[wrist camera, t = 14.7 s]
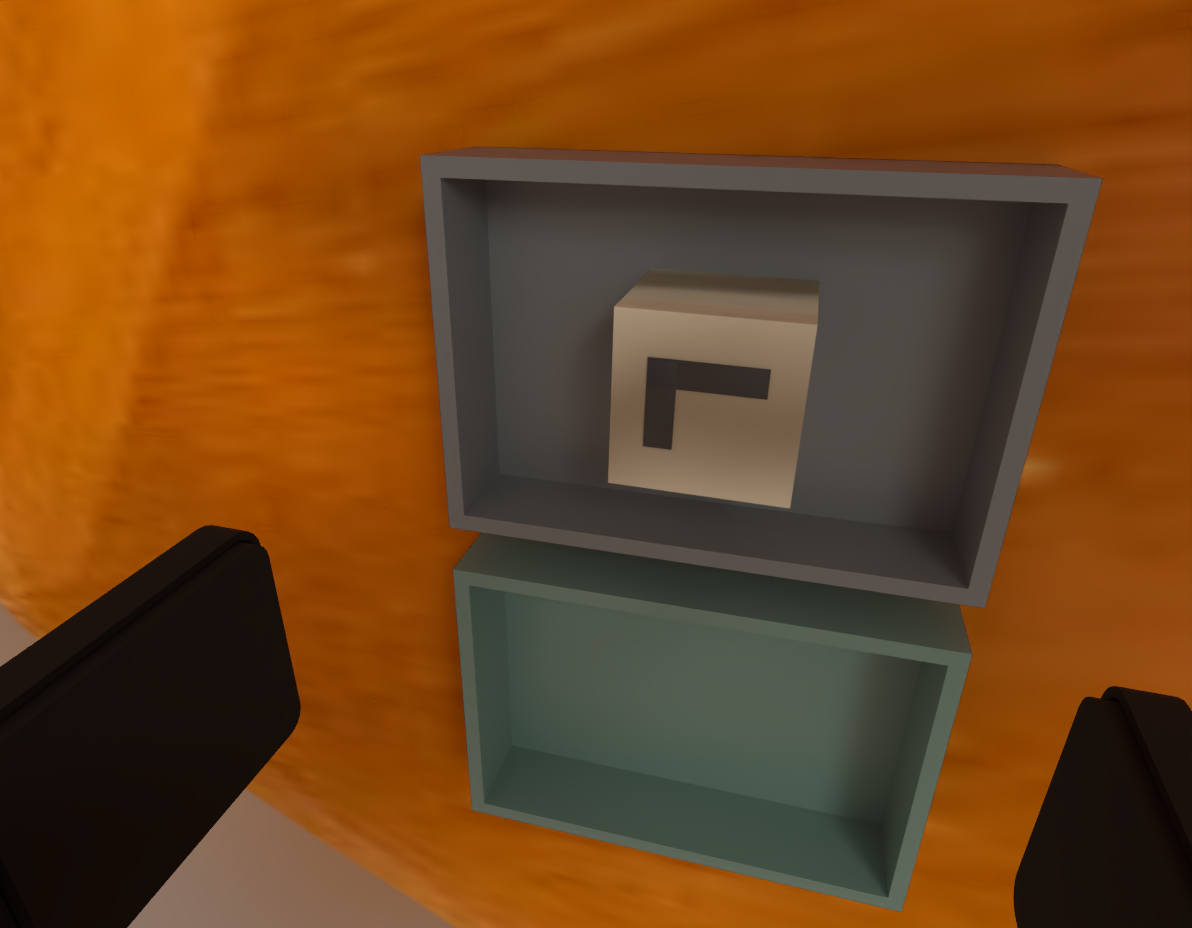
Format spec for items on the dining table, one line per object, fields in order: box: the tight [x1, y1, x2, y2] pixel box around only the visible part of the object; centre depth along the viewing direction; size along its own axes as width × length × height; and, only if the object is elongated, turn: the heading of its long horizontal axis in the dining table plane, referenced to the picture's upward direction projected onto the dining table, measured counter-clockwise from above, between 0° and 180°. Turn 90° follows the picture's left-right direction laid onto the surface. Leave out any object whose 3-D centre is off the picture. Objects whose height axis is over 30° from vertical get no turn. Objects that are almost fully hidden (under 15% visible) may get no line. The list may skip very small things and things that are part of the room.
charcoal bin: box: [420, 147, 1102, 608], centre depth 21 cm, size 10×15×4 cm
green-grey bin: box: [453, 533, 972, 912], centre depth 26 cm, size 10×15×4 cm
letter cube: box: [608, 268, 819, 508], centre depth 20 cm, size 4×5×4 cm
